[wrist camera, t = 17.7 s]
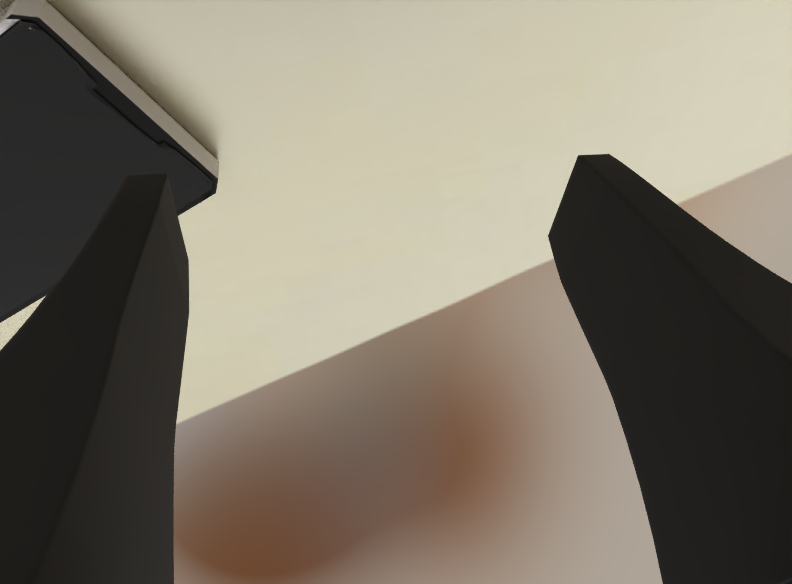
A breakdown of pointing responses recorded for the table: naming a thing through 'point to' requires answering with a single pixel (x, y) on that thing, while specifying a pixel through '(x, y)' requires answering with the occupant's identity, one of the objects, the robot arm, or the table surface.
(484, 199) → the table surface
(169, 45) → the table surface
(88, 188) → the smartphone
